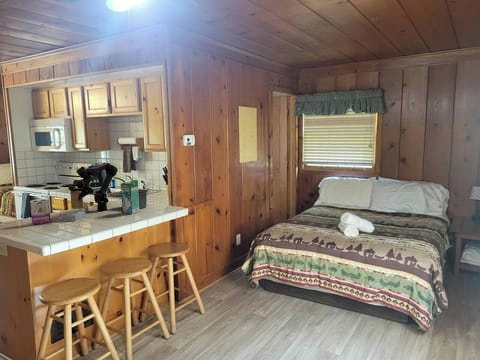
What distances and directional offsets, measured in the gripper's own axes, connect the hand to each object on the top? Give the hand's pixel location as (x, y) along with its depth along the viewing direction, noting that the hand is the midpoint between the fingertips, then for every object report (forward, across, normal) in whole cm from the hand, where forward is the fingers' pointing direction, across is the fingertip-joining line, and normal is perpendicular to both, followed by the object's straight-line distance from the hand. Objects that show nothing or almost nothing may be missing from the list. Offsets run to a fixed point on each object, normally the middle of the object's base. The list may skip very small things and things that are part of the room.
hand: (75, 199), depth 253 cm
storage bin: (-22, +18, +41) cm, 50 cm away
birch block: (-2, -10, +22) cm, 24 cm away
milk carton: (-8, +27, +28) cm, 40 cm away
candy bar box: (+23, -12, -3) cm, 26 cm away
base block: (+12, 0, +8) cm, 14 cm away
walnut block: (+4, 0, +6) cm, 7 cm away
